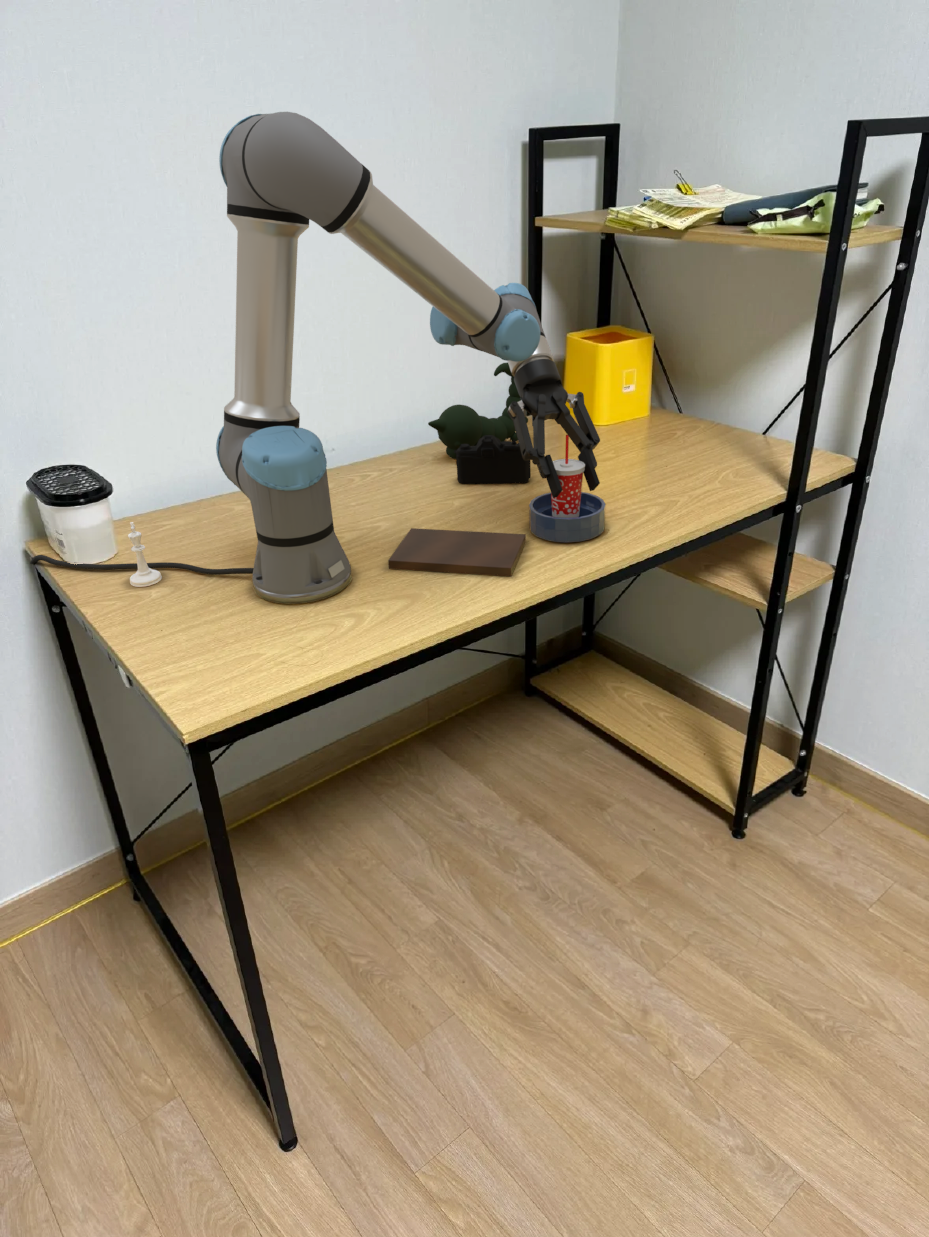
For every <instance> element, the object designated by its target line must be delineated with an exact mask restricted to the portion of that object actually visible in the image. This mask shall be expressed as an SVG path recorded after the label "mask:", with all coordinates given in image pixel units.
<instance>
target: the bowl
mask: <svg viewBox="0 0 929 1237" xmlns="http://www.w3.org/2000/svg"><path fill="white" fill-rule="evenodd" d="M606 506H607V504H606V502H605V501H604V499H603V498H601V497H600V496H598V495H596V494H593V493H589V492H586V491H581V501H580V512H579V517H573V518H560V517H553V516H552V503H551V491H550V492H546V493H543V494H540V495H537V496H535V497H533V499H531V500H530V502H529V504H528V528H529V531H530V533H531V534H532V535H534V536H535V537H537V538H539V539H542V540H545V541H549V542H554V543H578V542H584V541H589V540H592V539H594V538H597V537H599V536H600V535H602V534H603V533H604V531H605V528H606V508H607V507H606Z"/></svg>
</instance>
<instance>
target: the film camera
mask: <svg viewBox="0 0 929 1237" xmlns="http://www.w3.org/2000/svg"><path fill="white" fill-rule="evenodd" d="M454 453H456V459H455V460H456V461H455V462H456V464H455V465H456V479H457V483H458V484H460V485H513V484H515V485H516V484H526V483H528V482H529V481H530V479H531V478H532V477H531V476H532V473H531V472H532V471H531V469H532V468H531V460H528V461H525V460H524V459H523V457H522V454H521V450H520V446H519V442H518V443H517V441H516V440H513V441H511V440H505V441H503V442H501V441H500V440H499V439H498V438H497V437H495V436H493V435H485V436H483V437H482V438H480V439H479V441H478V443H477V445H476V446H470V445H469V444H461V445H460V448H458V449H457V450H454Z"/></svg>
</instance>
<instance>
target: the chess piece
mask: <svg viewBox="0 0 929 1237" xmlns="http://www.w3.org/2000/svg"><path fill="white" fill-rule="evenodd" d="M129 524H130V531H131V532H130V533H128V535H127V537H128V539H129V540H130V542H131V544H132V545H133V546H131V549H130V551H131V552H134V553H135V557H136V563H137V565H138V569H136V572H135V573H133V574H131V576H130V577H129V584H130V585H131V586H133V587H136V588H144V587H145V588H146V587H149V586H153V585H155V584H158V583H159V582H160V581H161V580H162V579H163V576H162V574H161V573H162V572H160V571H159V570H157V569H153V568H152V569H151V568H149V567H148V565H147V563H148V562H147V561H146V558H145V556H144V553H143V551H145V549H146V546H145V545H144V544H142V532H140V531H137V530H136V526H135V524H134V521H130V522H129Z"/></svg>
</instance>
